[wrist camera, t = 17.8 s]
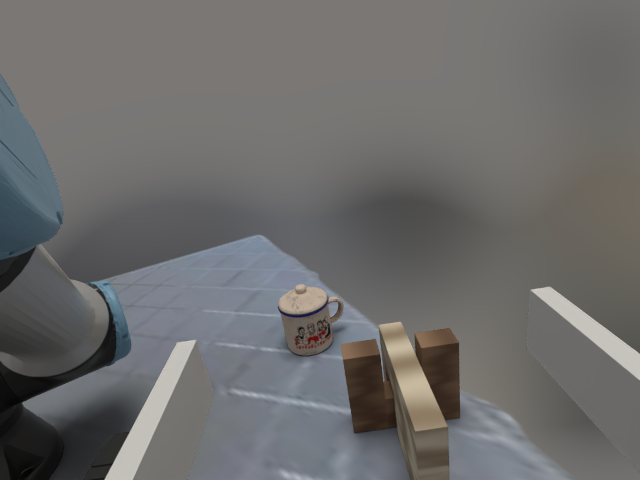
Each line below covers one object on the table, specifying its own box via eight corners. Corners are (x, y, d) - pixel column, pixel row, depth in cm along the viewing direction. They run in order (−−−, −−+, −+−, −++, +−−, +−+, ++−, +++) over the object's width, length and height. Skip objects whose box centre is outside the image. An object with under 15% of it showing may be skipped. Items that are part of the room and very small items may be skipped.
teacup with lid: (296, 364, 62) (283, 306, 58) (280, 337, 70) (268, 284, 66) (357, 339, 66) (349, 283, 62) (335, 316, 74) (327, 265, 70)
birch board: (450, 513, 37) (447, 426, 33) (421, 517, 37) (415, 431, 33) (406, 390, 53) (400, 321, 49) (385, 393, 53) (378, 325, 49)
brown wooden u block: (354, 433, 48) (343, 359, 44) (351, 414, 51) (340, 344, 46) (459, 417, 48) (458, 342, 43) (451, 400, 50) (449, 328, 46)
